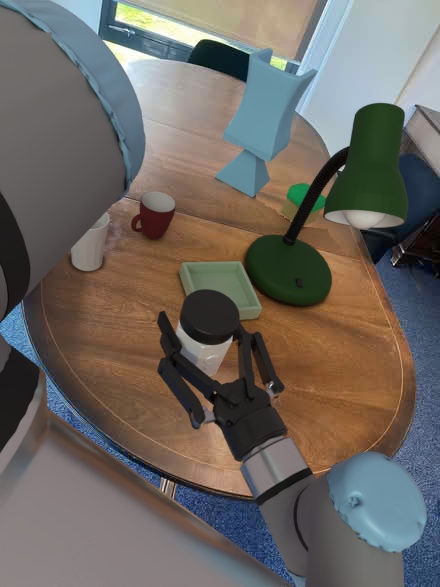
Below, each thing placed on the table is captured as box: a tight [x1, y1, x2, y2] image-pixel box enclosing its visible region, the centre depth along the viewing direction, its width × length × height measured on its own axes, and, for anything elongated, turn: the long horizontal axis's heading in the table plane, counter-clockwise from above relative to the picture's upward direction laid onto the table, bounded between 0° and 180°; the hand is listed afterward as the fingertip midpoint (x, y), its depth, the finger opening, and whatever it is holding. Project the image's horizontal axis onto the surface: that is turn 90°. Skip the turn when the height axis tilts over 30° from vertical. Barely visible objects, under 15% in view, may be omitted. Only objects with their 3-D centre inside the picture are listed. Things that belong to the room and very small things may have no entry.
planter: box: [214, 47, 319, 198], centre depth 113 cm, size 16×16×35 cm
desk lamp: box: [244, 102, 410, 308], centre depth 80 cm, size 31×23×45 cm
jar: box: [174, 289, 241, 377], centre depth 57 cm, size 9×8×12 cm
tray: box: [178, 260, 264, 321], centre depth 86 cm, size 15×15×4 cm
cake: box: [279, 182, 327, 227], centre depth 116 cm, size 10×11×10 cm
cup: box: [70, 211, 111, 272], centre depth 80 cm, size 8×8×12 cm
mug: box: [130, 190, 177, 241], centre depth 91 cm, size 10×8×10 cm
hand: (190, 310), depth 59 cm, fingers closed on jar, 9 cm apart
